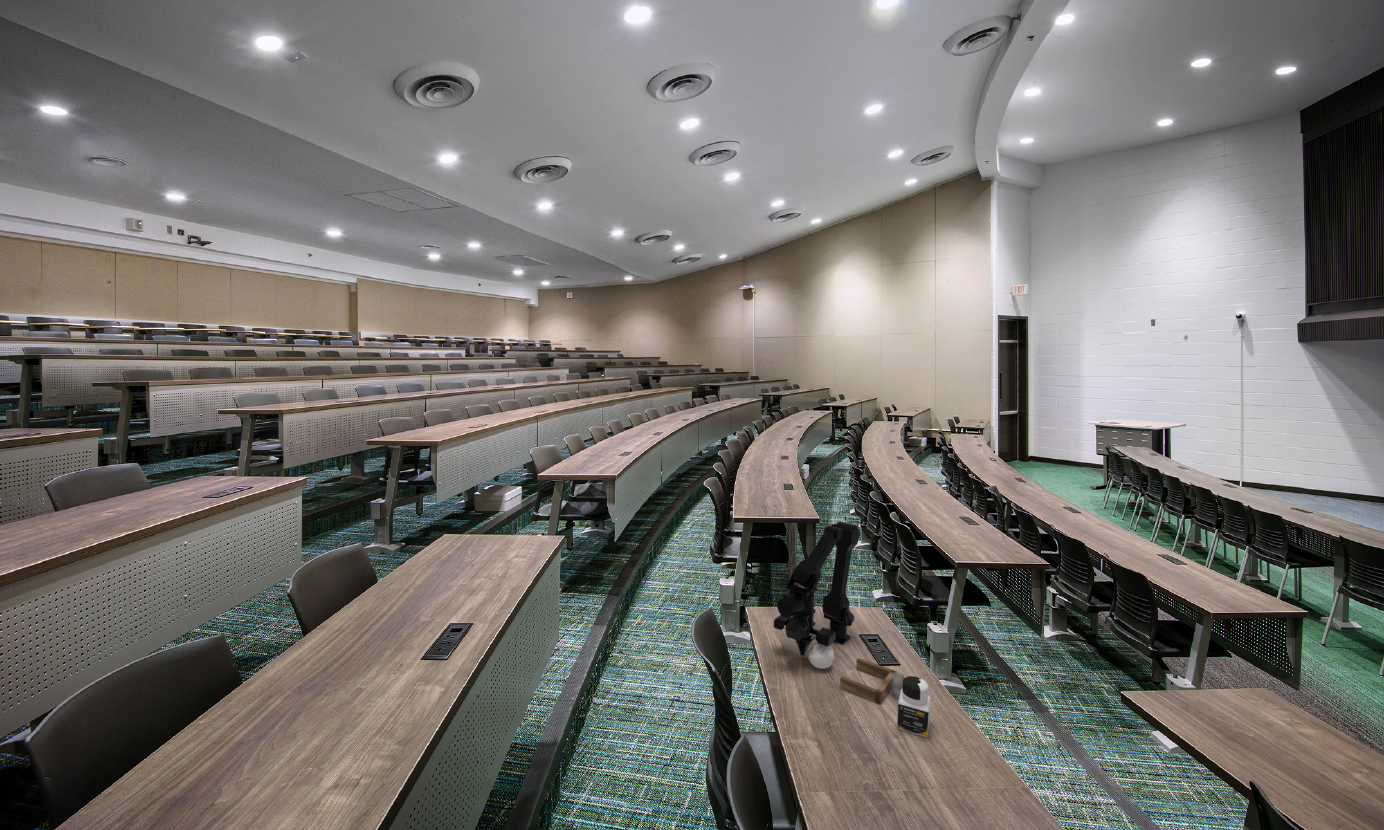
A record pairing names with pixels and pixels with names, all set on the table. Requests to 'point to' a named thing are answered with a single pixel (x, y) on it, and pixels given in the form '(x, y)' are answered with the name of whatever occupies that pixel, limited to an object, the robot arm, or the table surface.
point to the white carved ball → (821, 656)
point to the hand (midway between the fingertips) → (802, 655)
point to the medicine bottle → (914, 706)
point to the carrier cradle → (869, 693)
